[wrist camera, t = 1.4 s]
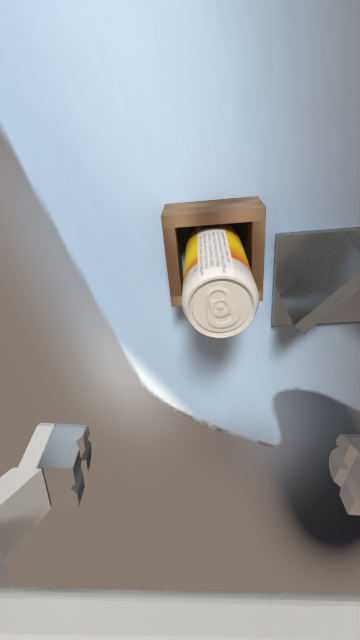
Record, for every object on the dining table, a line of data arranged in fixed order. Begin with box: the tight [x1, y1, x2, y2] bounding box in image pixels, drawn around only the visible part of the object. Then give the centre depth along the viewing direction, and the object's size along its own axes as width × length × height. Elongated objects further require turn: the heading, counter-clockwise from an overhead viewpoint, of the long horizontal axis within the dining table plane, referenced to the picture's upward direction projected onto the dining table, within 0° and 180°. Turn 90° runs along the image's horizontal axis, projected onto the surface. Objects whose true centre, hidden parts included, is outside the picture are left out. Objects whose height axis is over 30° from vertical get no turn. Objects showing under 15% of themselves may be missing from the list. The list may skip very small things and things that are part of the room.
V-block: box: [271, 227, 360, 334], centre depth 37 cm, size 16×12×8 cm
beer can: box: [182, 224, 259, 338], centre depth 32 cm, size 6×6×15 cm
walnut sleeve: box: [161, 196, 266, 307], centre depth 37 cm, size 10×10×5 cm
